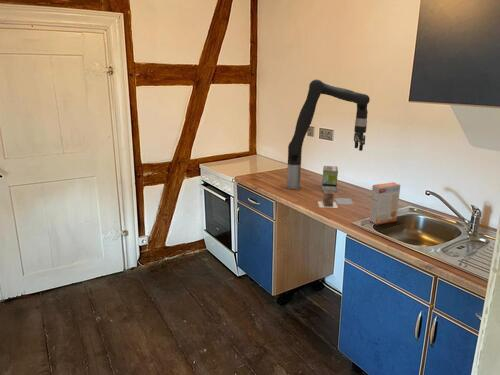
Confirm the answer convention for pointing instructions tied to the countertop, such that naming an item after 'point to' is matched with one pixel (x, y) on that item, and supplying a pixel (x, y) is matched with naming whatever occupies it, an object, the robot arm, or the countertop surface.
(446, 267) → the countertop surface
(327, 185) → the tea box
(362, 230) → the countertop surface
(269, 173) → the countertop surface
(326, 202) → the walnut block
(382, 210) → the cracker box
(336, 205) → the card
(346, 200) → the slate pad
